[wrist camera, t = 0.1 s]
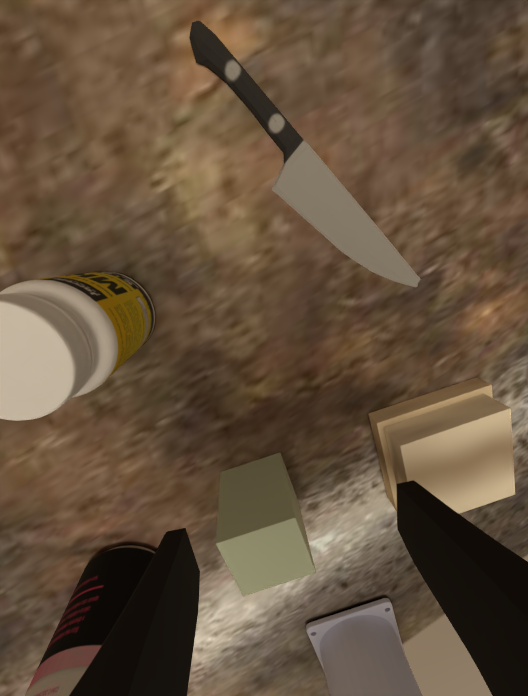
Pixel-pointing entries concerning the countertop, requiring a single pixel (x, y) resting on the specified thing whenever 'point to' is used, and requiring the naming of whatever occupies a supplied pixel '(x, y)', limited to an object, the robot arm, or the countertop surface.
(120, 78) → the countertop surface
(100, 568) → the beverage can
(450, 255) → the countertop surface
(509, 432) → the tan square tile
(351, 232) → the chef's knife
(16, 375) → the supplement bottle
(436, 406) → the tower base
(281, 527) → the green block
